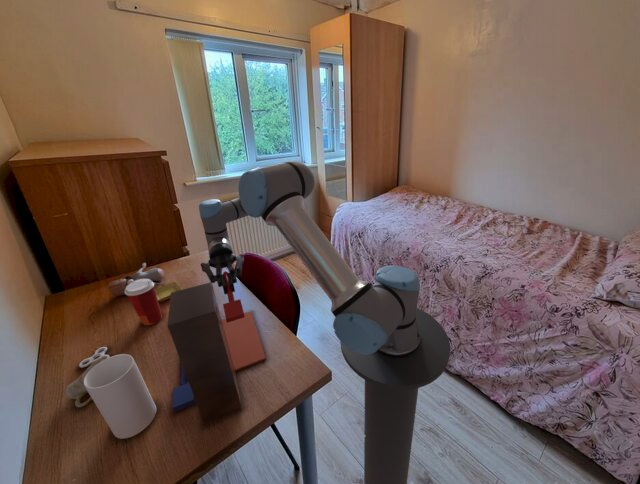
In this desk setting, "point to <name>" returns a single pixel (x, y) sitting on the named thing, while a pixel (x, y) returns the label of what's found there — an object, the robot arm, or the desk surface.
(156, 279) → the anime character
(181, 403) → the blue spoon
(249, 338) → the mat
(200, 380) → the stand
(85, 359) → the fidget spinner
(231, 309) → the red spatula
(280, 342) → the desk surface
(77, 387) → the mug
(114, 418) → the cup
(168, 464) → the desk surface
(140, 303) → the paper cup
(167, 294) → the yellow square tray
